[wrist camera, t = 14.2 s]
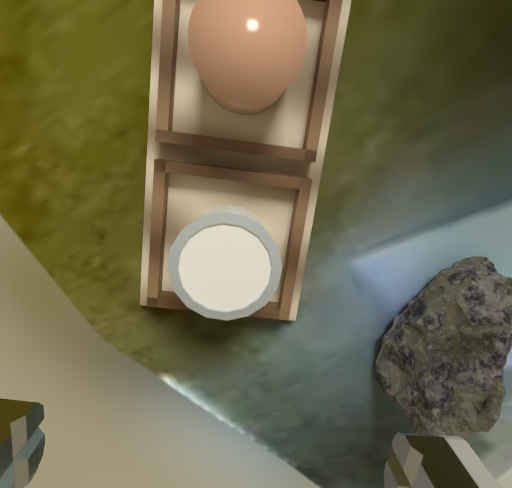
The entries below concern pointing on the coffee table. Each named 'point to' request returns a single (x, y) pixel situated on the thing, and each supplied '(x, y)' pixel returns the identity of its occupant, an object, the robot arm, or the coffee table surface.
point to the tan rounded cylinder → (247, 50)
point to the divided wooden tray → (236, 151)
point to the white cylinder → (225, 264)
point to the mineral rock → (451, 351)
